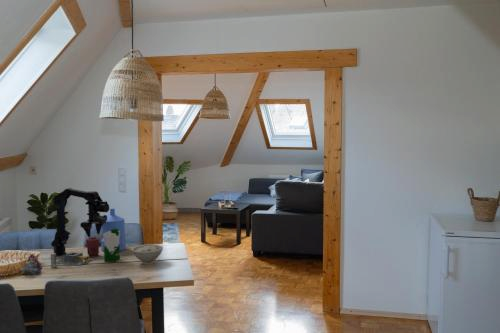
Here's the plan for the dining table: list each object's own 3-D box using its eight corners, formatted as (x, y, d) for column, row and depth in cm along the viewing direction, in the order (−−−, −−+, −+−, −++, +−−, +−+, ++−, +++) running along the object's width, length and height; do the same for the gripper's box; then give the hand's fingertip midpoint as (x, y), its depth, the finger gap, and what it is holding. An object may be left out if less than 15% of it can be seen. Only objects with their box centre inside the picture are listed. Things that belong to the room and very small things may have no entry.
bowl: (148, 256, 312) (148, 241, 311) (170, 261, 301) (170, 245, 300) (125, 263, 296) (124, 247, 296) (147, 269, 285) (146, 252, 284)
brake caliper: (49, 266, 284) (39, 253, 276) (38, 281, 276) (28, 268, 269) (33, 264, 288) (23, 251, 280) (22, 279, 280) (12, 267, 273)
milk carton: (115, 262, 299) (114, 230, 297) (102, 262, 301) (101, 230, 299) (122, 259, 307) (121, 227, 306) (109, 258, 309) (108, 227, 308)
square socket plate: (54, 263, 298) (54, 255, 298) (66, 258, 310) (66, 250, 309) (81, 265, 293) (81, 257, 293) (93, 260, 305) (92, 252, 304)
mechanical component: (89, 253, 321) (103, 254, 320) (82, 257, 311) (97, 258, 310) (88, 235, 320) (103, 235, 319) (81, 238, 310) (96, 239, 309)
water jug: (129, 247, 337) (128, 207, 335) (118, 253, 322) (117, 211, 320) (109, 246, 341) (107, 206, 339) (97, 251, 326) (95, 210, 324)
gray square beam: (51, 267, 291) (50, 253, 290) (53, 266, 293) (52, 253, 292) (54, 267, 290) (53, 254, 289) (56, 266, 292) (56, 253, 291)
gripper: (94, 214, 297) (95, 239, 298) (112, 209, 315) (113, 233, 316) (79, 213, 301) (80, 238, 302) (98, 208, 318) (98, 232, 320)
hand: (93, 235), depth 310 cm, fingers open, 9 cm apart
